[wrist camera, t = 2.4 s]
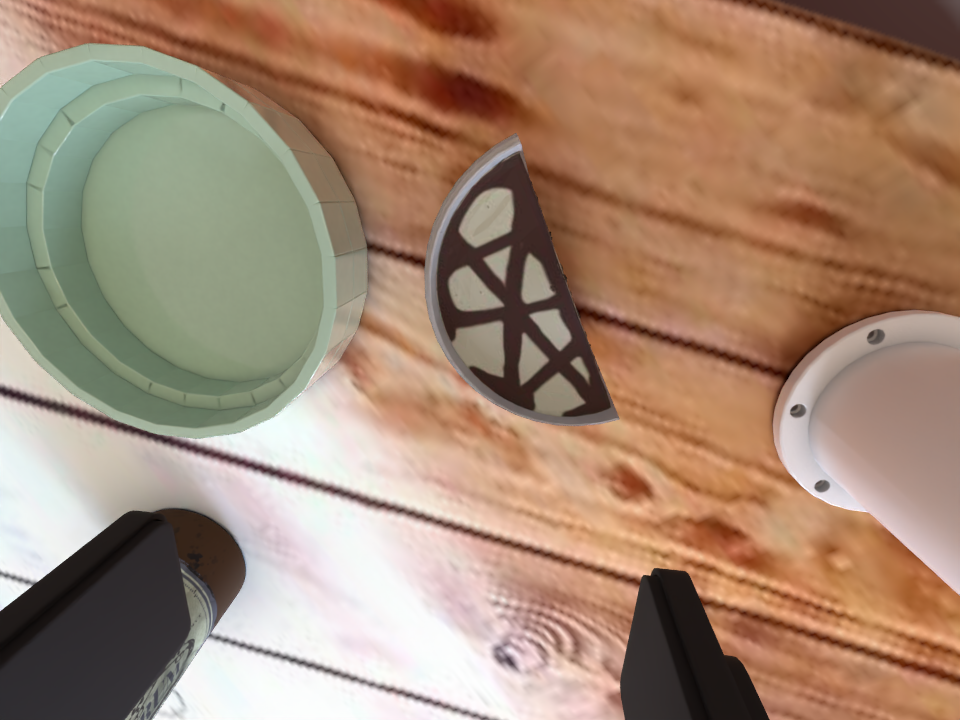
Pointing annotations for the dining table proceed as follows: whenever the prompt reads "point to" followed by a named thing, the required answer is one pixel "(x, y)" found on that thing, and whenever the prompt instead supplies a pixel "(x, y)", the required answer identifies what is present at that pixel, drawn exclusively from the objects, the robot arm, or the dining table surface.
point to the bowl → (172, 240)
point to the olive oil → (196, 595)
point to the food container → (509, 298)
